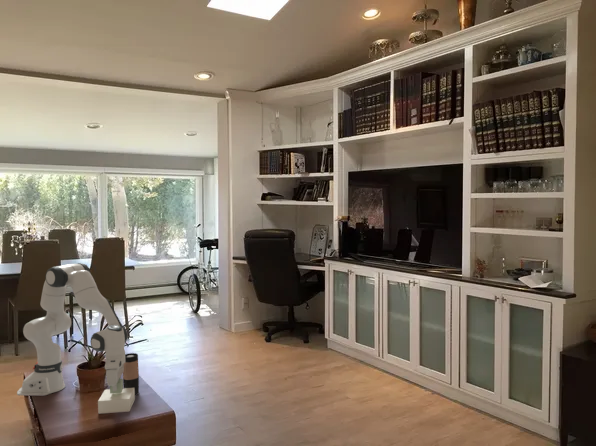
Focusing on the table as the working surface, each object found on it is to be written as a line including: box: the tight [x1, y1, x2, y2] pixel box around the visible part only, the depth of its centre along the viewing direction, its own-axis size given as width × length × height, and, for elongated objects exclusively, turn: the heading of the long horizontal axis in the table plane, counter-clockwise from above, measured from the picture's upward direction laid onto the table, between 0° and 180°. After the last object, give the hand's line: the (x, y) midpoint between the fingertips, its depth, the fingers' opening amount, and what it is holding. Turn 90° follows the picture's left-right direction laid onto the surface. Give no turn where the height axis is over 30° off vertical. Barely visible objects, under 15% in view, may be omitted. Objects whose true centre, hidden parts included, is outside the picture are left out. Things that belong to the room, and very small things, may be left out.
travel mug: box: [122, 352, 140, 396], centre depth 251 cm, size 8×8×20 cm
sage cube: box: [109, 378, 124, 394], centre depth 236 cm, size 5×5×5 cm
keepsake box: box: [97, 387, 136, 415], centre depth 236 cm, size 14×14×6 cm
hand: (116, 387), depth 236 cm, fingers closed on sage cube, 5 cm apart
